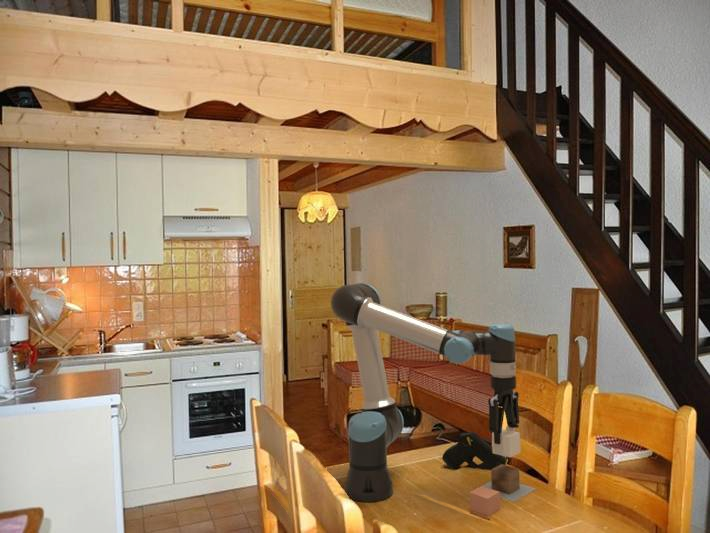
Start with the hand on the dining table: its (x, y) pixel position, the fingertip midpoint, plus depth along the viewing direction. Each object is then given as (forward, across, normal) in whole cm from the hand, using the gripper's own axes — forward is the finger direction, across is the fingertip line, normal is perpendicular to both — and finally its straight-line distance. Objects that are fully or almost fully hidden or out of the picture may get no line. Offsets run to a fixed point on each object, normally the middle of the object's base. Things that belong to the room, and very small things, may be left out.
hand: (505, 451), depth 167 cm
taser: (+13, +10, +18) cm, 24 cm away
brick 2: (+11, 0, 0) cm, 11 cm away
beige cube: (0, 0, 0) cm, 1 cm away
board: (+13, 0, 0) cm, 13 cm away
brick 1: (+13, -16, -3) cm, 21 cm away
